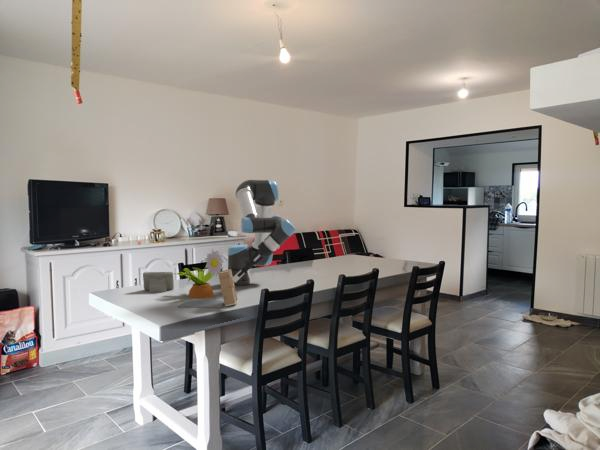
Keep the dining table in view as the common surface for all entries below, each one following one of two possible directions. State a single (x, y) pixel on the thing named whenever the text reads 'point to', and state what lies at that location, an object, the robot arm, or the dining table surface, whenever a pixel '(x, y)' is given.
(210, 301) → the slate mat
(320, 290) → the dining table surface
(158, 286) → the digital clock
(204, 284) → the decorative plant
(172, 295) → the dining table surface
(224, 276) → the wooden block
